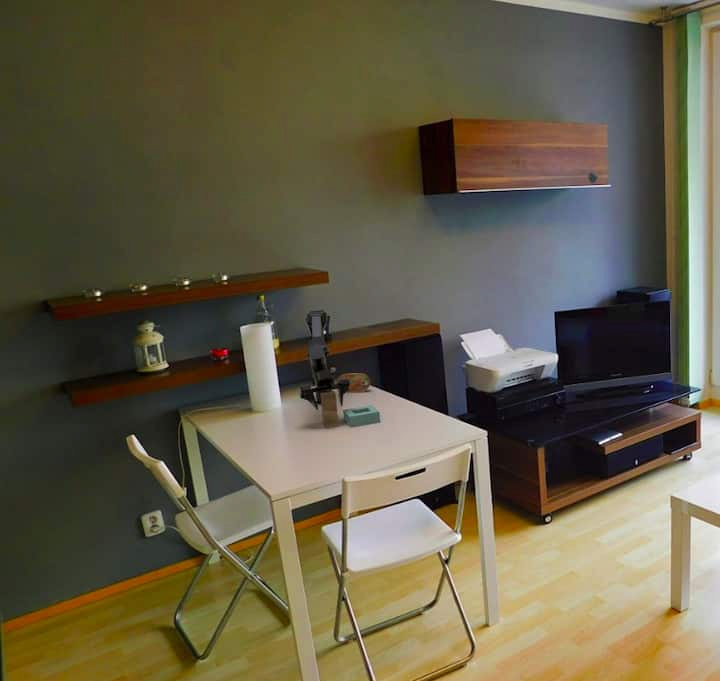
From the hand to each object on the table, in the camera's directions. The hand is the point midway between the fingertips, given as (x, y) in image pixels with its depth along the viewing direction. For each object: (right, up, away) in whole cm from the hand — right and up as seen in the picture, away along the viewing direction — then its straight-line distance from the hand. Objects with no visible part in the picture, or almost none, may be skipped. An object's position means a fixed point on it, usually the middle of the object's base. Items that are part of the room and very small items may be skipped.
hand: (329, 407), depth 224 cm
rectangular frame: (+12, -5, +6) cm, 14 cm away
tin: (+9, +2, +47) cm, 48 cm away
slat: (0, -7, +2) cm, 8 cm away
